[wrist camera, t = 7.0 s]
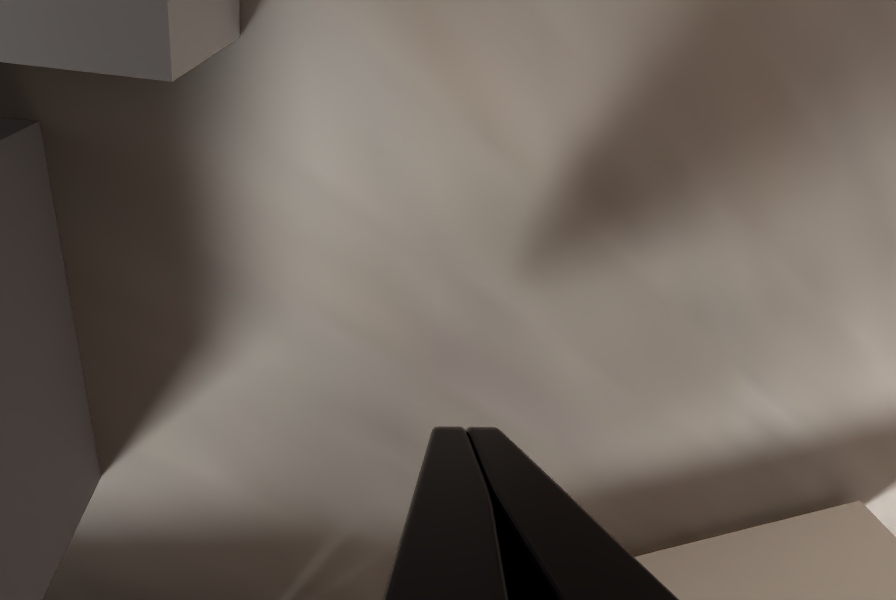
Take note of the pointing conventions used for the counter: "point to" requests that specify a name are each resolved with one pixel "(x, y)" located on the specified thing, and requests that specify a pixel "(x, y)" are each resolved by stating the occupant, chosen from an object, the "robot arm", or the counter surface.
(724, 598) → the cover
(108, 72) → the grey angular u-shape
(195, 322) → the counter surface
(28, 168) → the tilted gray brick
